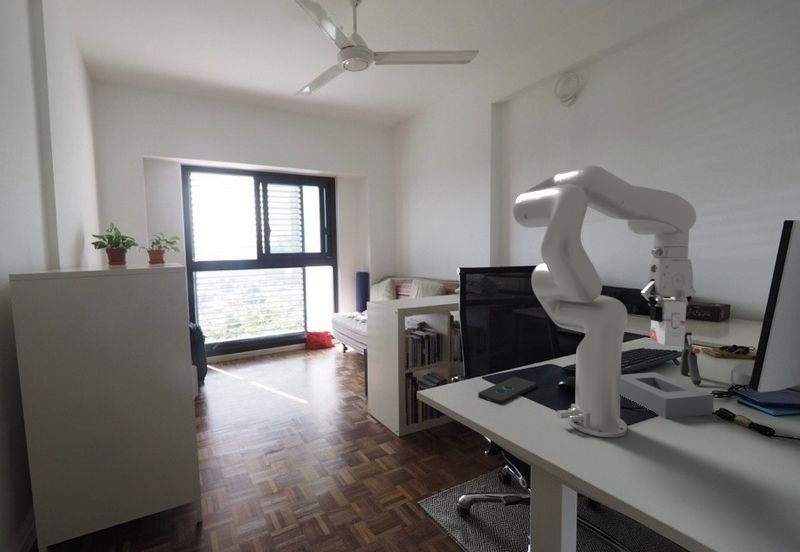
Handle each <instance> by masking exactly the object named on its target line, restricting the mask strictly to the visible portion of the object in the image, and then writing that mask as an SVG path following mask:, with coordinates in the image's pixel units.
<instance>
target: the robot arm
mask: <svg viewBox="0 0 800 552" xmlns="http://www.w3.org/2000/svg"><path fill="white" fill-rule="evenodd" d="M588 208H591V209H593V210H594V211H596V212H598V213H600V214H603V215H605V216H606V217H608V218H612V219H616V220H625V221H626V222H627V227H628V228H629V230H630V231H631V232H633V233H635V234H637V235H640V236H643V235H644V236H647V235H650V236H651V235H652V236H654V237H653V249H652V250H651V251H650V252H651V255H652V256H653V258H652V259H651V261H650V265H649V270H648V276H647V285H646V286H644V288H643V289H642V290H641V292H640V294H641V296H642V297H644V300H645V301H646V302H647V304H648V306H650V316H649V319H650V321H651V320H653V321H657V322H661V321H662V307H660V305H661V303H662V300H663V298H665V297H666V298H671V297H681V296H682V290H685V292H686V307H688V306H689V303H690V302H691V301H692V299H693V298H694V296H695V295H697V291H696V290H695V288H694V272H693V270H694V269H693V265H692V261H691V259H689V245H690V244H689V243H690V241H689V239H690V230H691V229H692V228H693V227H694V225H695V224H696V220H697V214H696V210H695V207H694V206H693V205H692V203H690V202H689V201H688V200H686V199H685V198H684V197H682V196H680V195H678V194H677V193H673V192H671V191H668V190H662V189H656V188H655V189H654V188H651V187H650V188H649V187H644V186H638V185H634V184H631V183H629V182H627V181H626V180H624V179H622V178H621V177H619V176H617V175H616V174H613V173H612V172H611V171H609V170H606V169H605V168H603V167H601V166H597V165H586V166H581V167H580V166H579V167H577V168H573V169H569V170H565V171H560V172H558V173H555V174H553V175H552V176H550V177H547V178H546V179H544V180H543V181H540V182H539V183H537V184H536V185H534V186H532V187H530V188H528V189H526V190H525V191H523V192H522V193H520V194H519V195H518V197H517V198H516V200H515V201H514V203H513V207H512V214H513V218H514V219H515V221H516V223H517V224H519V225H520V226H522V227H525V228H531V229H532V228H543V227H544V228H545V227H546V231H545V234H544V236H543V240H542V243H541V245H540V246H541V247H540V254H541V258H542V262H540V263H539V264H537V265H536V267H534V269H533V271H532V273H531V287H532V291H533V293H534V295H535V296H536V298H537V300H538V302H540V304H541V306H542V307H543V309H544V310H545V312H546V314H547V315H548V317H549V318H550V319H551V321H552V322H553V323H554V324H555V325H557V326H558V327H559V328H562V329H565V330H571V331H574V332H580V333H582V334H585V335H584V338H582V340H581V341H580V342H579V344H578V346H577V347H576V353H575V393H574V394H575V397H574V398H575V403H571V404H570V408H568V409H567V410H565V409H562V410H561V409H560V410H559V409H558V410H556V417H557V419H559V420H563V419H564V420H565V419H567V420H568V423H569V425H571V427H573V428H574V429H576V430H577V431H580V432H582V433H585V434H588V435H590V436H595V437H601V438H619V437H622V436H625V435H626V434H627V433H628V425H627V423H626V422H625V421H624V420H623V419H622V418H621V396H620V389H621V375H622V347H623V340H624V335H625V330H626V326H627V324H628V323H627V322H628V315H629V314H628V309H627V308H626V305H625V304H624V303H623V302H621V300H619V299H617V298H615V297H611V296H608V295H603V294H601V293H602V290H603V284H602V280H601V278H600V275H599V273H598V272H597V269H596V267H595V266H594V264H593V262H592V261H591V259H590V257H589V255H588V253H587V252H586V250H585V248H584V246H583V243H582V238H581V234H582V229H583V224H584V221H585V217H586V215H587V210H588ZM656 298H657V300H656Z"/></svg>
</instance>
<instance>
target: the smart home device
mask: <svg viewBox="0 0 800 552" xmlns="http://www.w3.org/2000/svg"><path fill="white" fill-rule="evenodd" d="M536 387H537V382H535V381H531V380H527V379H523V378H519V377H516V376H513V377H510V378H509V379H506V380H503V381H501V382H499V383H497V384H495V385H493V386H490V387H488V388H486V389H484V390H481V391H479V392H478V395H477V398H479V399H482V400H485V401H488V402H491V403H494V404H497V405H504V404H505V403H506V404H507V402H509V401H512V400H514V399H515V398H517V397H519V396H522V395H523V394H526V393H527V392H529V391H531V390H533V389H535V388H536Z"/></svg>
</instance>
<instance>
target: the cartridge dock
mask: <svg viewBox="0 0 800 552" xmlns="http://www.w3.org/2000/svg"><path fill="white" fill-rule="evenodd" d="M620 395H621V396H620V397H622V396H623V397H622V398H624V397H625V398H624V399H626V398H627V399H626V400H628V399H629V400H628V401H630V400H631V402H632V401H634V402H636V403H637V404H636V403H635V404H636V405H638V404H639V405H638V406H640V405H641V406H640V407H642V406H644V407H645V408H644V407H643V408H644V409H646V408H647V409H646V410H648V409H649V410H651V411H653V412H655V413H656V415H657V414H658V415H657V416H660V417H661V418H663V419H674V418H684V417H685V418H686V417H694V416H702V415H703V416H705V415H712V413H713V414H714V396H715V395H714V394H712V393H711V392H708V391H705V390H702V389H700V388H697V387H695V386H692V385H689V384H687V383H685V382H681V381H679V380H676V379H674V378H671V377H668V376H666V375H663V374H660V373H658V372H640V373H639V372H638V373H627V374H621V389H620ZM634 402H633V403H634ZM649 410H648V411H649ZM651 411H650V412H651ZM653 412H652V413H653ZM655 413H654V414H655Z"/></svg>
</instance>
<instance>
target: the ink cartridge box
mask: <svg viewBox="0 0 800 552" xmlns="http://www.w3.org/2000/svg"><path fill="white" fill-rule="evenodd" d="M656 300H657V298H656ZM660 307H662V321H661V322H657V321H653V320H651V319H650V334H649V335H650V336H649V337H650V338H649V339H650V340H652V341H654V342H656V343H658V344H661V345H662V346H668V347H684V340H685V332H686V318H687V317H686V315H687V306H686V292H685V290H682V296H681V297H666V298H665V297H664V298H663V300H662V303H661V305H660Z"/></svg>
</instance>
